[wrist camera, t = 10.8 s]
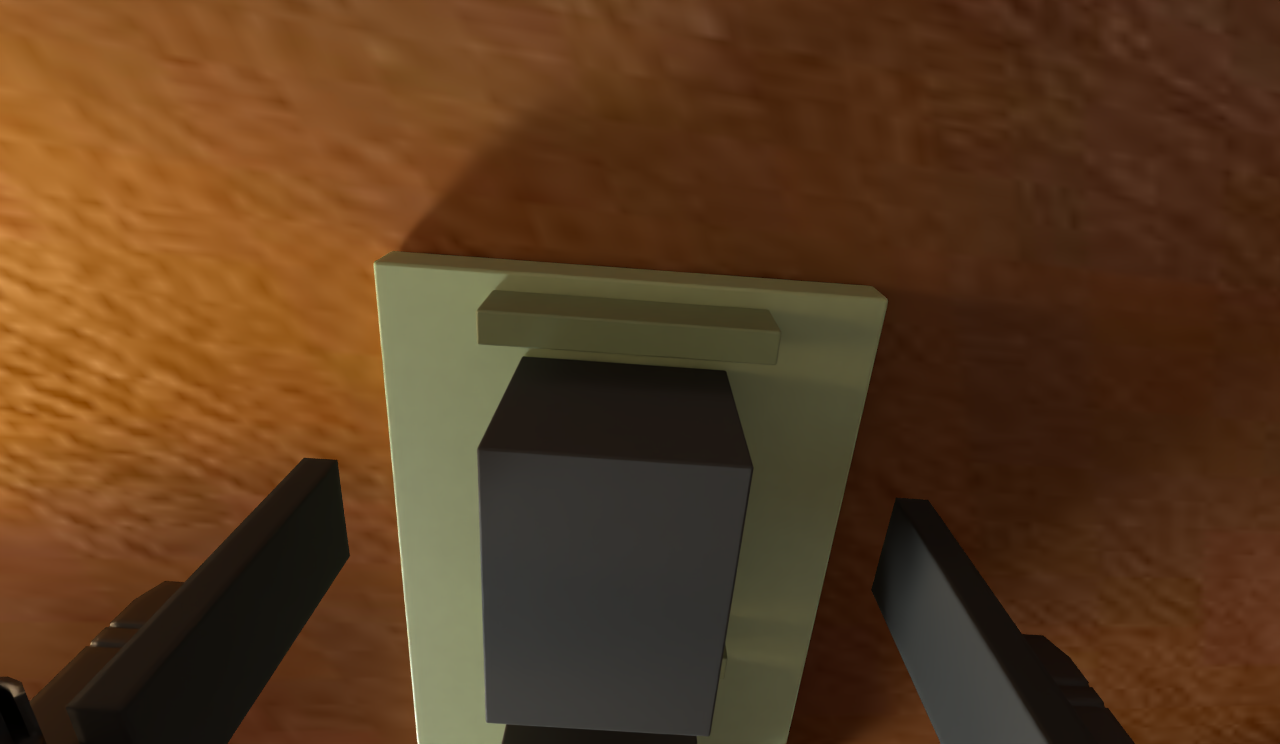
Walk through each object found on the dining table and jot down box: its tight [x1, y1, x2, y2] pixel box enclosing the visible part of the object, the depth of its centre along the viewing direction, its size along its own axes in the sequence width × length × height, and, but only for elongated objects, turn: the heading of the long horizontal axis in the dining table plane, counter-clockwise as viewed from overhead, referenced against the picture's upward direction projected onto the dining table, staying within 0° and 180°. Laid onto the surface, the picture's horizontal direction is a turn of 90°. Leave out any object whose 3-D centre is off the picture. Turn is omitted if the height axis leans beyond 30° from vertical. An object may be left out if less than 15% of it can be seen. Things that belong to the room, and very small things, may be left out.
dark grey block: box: [477, 356, 754, 736], centre depth 15 cm, size 7×5×4 cm
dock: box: [374, 251, 888, 744], centre depth 17 cm, size 19×12×6 cm, turn 176°
